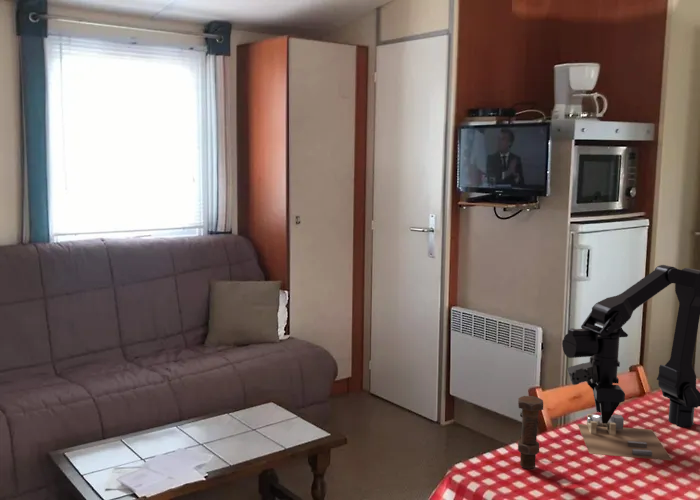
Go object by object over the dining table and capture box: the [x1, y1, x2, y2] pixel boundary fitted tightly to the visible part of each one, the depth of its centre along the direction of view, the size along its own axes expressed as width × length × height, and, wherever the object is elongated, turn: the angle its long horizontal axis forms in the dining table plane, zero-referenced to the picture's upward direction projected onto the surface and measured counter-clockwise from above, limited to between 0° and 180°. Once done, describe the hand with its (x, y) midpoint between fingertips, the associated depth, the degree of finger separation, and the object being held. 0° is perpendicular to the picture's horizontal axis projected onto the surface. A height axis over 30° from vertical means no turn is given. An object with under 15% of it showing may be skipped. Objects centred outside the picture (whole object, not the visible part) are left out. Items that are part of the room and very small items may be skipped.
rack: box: [586, 413, 616, 436], centre depth 170 cm, size 6×6×3 cm
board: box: [577, 423, 673, 461], centre depth 164 cm, size 18×18×1 cm
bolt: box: [517, 395, 544, 470], centre depth 150 cm, size 6×5×15 cm
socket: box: [627, 441, 652, 456], centre depth 159 cm, size 6×4×1 cm
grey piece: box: [586, 413, 625, 430], centre depth 170 cm, size 8×3×3 cm, turn 80°
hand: (601, 417), depth 170 cm, fingers open, 7 cm apart
